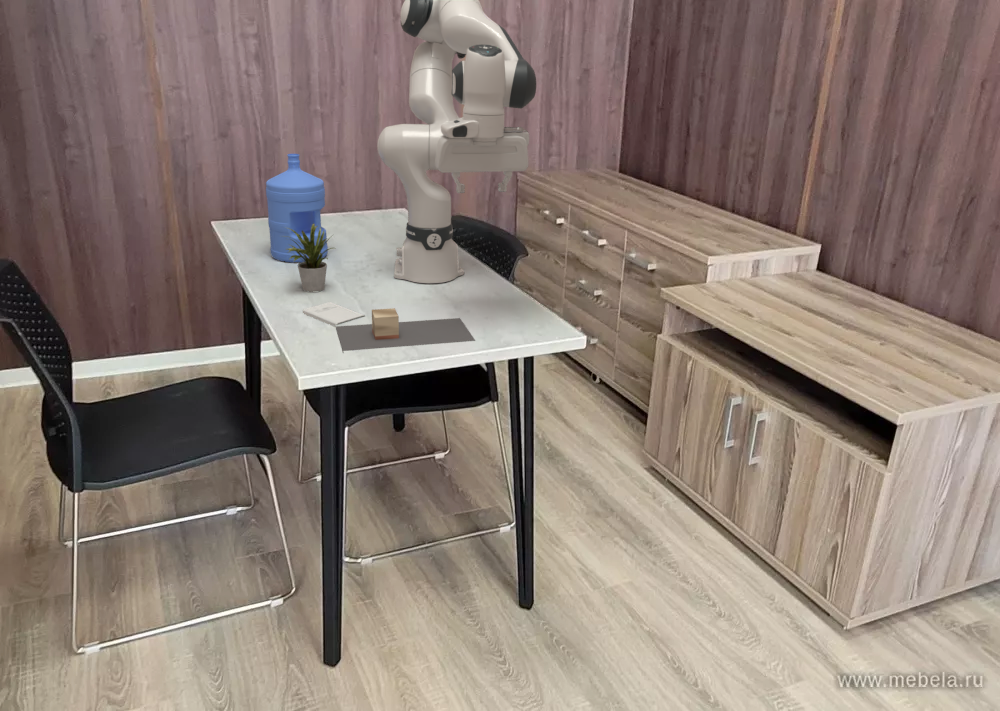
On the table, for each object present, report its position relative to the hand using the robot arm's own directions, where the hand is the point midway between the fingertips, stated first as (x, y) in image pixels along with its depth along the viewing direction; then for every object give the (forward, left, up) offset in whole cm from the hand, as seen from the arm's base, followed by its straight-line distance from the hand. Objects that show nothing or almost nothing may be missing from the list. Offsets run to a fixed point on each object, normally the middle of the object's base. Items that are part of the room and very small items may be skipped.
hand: (481, 192), depth 179 cm
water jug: (-57, -37, -29) cm, 74 cm away
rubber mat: (+9, -19, -29) cm, 36 cm away
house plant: (-28, -36, -29) cm, 54 cm away
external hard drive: (-6, -33, -30) cm, 45 cm away
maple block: (+9, -23, -23) cm, 34 cm away
